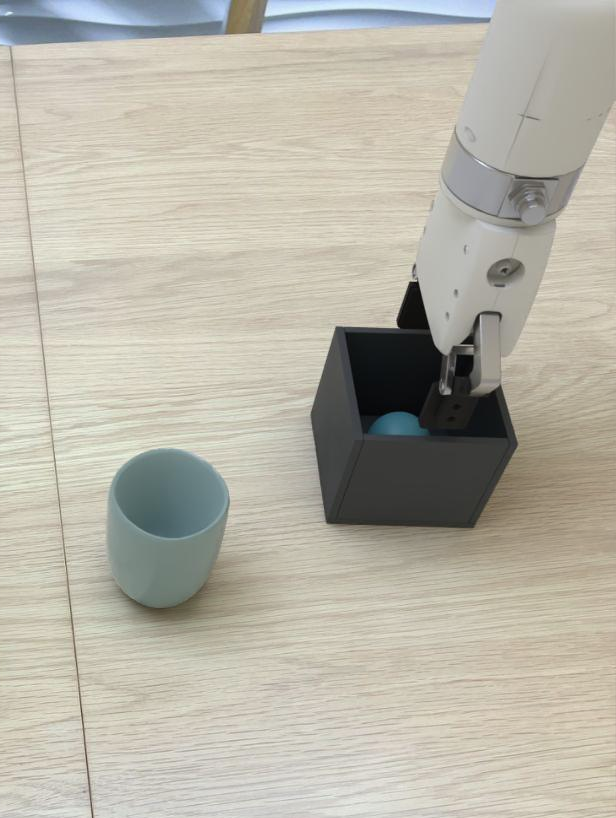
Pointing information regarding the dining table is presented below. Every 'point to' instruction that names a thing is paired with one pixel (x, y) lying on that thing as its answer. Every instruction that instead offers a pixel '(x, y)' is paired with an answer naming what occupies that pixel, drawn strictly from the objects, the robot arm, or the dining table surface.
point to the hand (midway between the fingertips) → (428, 374)
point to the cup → (165, 525)
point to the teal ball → (398, 425)
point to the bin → (402, 454)
